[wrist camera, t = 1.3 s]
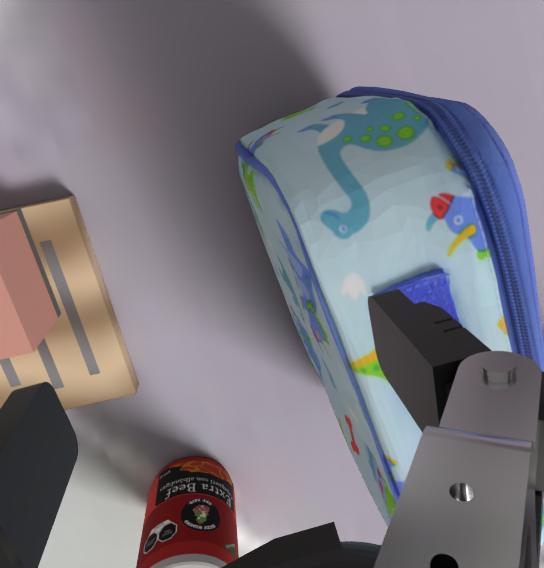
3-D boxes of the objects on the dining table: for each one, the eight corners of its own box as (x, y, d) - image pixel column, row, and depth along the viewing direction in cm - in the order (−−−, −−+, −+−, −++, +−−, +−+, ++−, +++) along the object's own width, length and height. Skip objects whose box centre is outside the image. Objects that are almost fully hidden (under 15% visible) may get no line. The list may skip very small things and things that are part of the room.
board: (-82, 227, 34) (-95, 232, 32) (74, 194, 34) (68, 198, 33) (6, 413, 40) (-1, 425, 38) (138, 383, 40) (136, 393, 39)
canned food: (244, 461, 44) (254, 569, 34) (220, 527, 47) (223, 646, 36) (161, 446, 43) (145, 554, 32) (140, 515, 45) (119, 636, 35)
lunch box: (445, 371, 43) (636, 589, 24) (334, 416, 44) (433, 668, 24) (358, 78, 34) (556, 41, 14) (217, 138, 34) (224, 181, 15)
